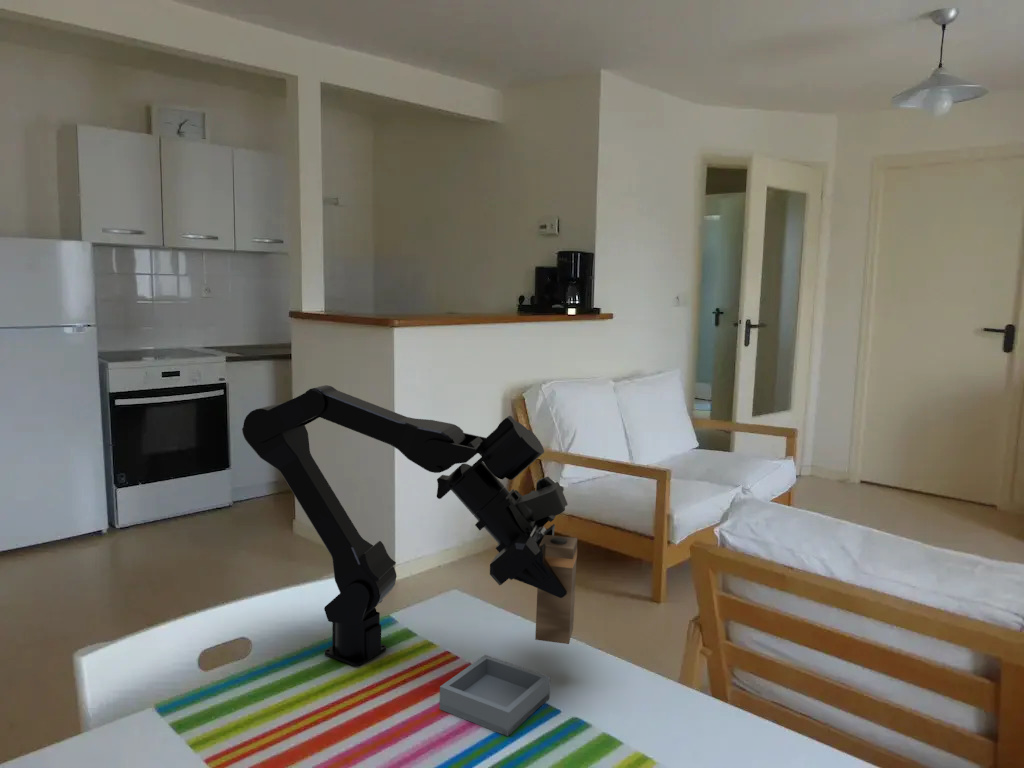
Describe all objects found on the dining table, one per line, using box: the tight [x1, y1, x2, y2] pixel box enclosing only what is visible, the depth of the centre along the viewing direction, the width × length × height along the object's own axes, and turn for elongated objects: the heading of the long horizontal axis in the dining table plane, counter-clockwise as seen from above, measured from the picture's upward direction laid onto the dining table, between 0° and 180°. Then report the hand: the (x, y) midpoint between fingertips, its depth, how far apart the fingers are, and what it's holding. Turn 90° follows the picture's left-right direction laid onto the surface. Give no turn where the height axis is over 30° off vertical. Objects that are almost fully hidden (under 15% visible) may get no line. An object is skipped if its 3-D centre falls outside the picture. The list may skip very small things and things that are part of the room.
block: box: [534, 535, 578, 645], centre depth 100 cm, size 5×5×13 cm
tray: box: [439, 654, 551, 737], centre depth 95 cm, size 10×10×3 cm
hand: (566, 588), depth 100 cm, fingers closed on block, 4 cm apart
